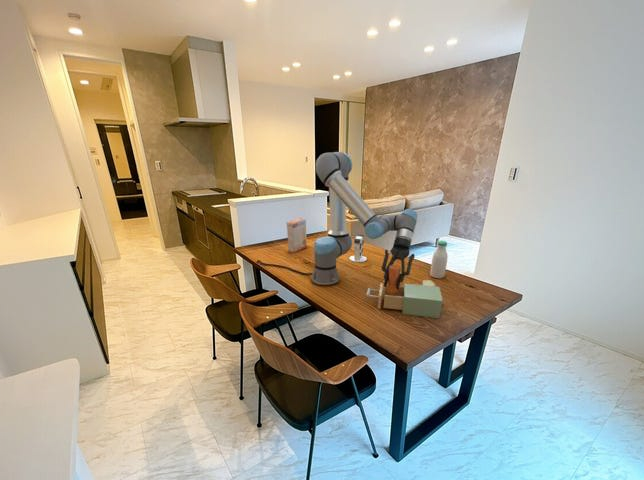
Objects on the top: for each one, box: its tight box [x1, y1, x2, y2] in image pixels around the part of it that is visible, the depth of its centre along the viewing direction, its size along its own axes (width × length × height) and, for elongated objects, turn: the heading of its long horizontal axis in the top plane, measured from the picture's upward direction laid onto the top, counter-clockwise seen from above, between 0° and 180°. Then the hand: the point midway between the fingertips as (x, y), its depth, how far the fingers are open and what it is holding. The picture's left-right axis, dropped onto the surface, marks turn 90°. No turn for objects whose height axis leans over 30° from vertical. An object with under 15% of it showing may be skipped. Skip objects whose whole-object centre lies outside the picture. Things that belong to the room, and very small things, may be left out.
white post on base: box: [348, 233, 368, 263], centre depth 189 cm, size 12×11×15 cm
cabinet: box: [401, 282, 444, 319], centre depth 134 cm, size 16×14×9 cm
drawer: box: [365, 282, 404, 311], centre depth 137 cm, size 20×12×7 cm, turn 76°
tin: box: [387, 264, 401, 294], centre depth 133 cm, size 5×5×12 cm
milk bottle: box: [429, 240, 449, 279], centre depth 163 cm, size 8×8×20 cm
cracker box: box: [286, 217, 308, 254], centre depth 205 cm, size 14×6×21 cm, turn 144°
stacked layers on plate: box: [422, 279, 436, 286], centre depth 147 cm, size 10×9×6 cm
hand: (391, 287), depth 131 cm, fingers closed on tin, 5 cm apart
